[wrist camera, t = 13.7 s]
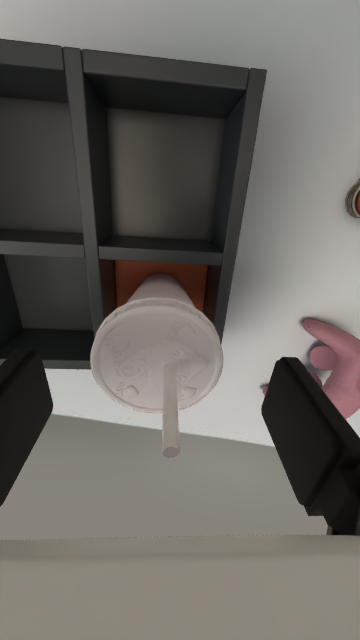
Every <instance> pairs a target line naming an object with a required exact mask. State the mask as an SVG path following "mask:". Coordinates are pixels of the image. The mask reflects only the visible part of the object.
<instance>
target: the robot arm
mask: <svg viewBox="0 0 360 640" xmlns="http://www.w3.org/2000/svg"><path fill="white" fill-rule="evenodd" d="M52 410H53V401H52V397H51V393H50V389H49V385H48V381H47V377H46V373H45V369H44V365H43V361H42V357H41V355H40V354H39V353H37V352H36V351H35V350H33V349H16V350H15V351H14V352H13V353H12V354H11V355H10V356H9V357H8V358H7V359H6V360H5V361H4V362H3V363H2V364H1V365H0V506H1V505H2V504H3V502H4V501H5V499H6V497H7V495H8V493H9V491H10V489H11V488H12V486H13V484H14V482H15V480H16V478H17V476H18V475H19V473H20V471H21V469H22V467H23V465H24V463H25V461H26V460H27V458H28V456H29V454H30V452H31V450H32V448H33V446H34V445H35V443H36V441H37V439H38V437H39V435H40V433H41V431H42V430H43V428H44V426H45V424H46V422H47V420H48V418H49V417H50V415H51V413H52ZM262 416H263V418H264V421H265V423H266V426H267V428H268V430H269V433H270V435H271V438H272V440H273V443H274V445H275V447H276V450H277V452H278V455H279V457H280V459H281V461H282V464H283V466H284V469H285V471H286V474H287V476H288V479H289V481H290V483H291V486H292V488H293V491H294V493H295V495H296V498H297V500H298V502H299V503H300V504H301V505H304V507H305V510H306V512H307V514H308V516H324V518H325V520H326V522H327V524H328V529H327V534H326V535H256V536H255V535H246V536H183V537H133V538H132V537H130V538H129V537H128V538H83V539H41V540H5V541H4V540H1V541H0V640H360V438H359V436H358V435H357V434H356V433H355V431H354V430H353V429H352V427H351V426H350V425H349V423H348V422H347V421H346V420H345V418H344V417H343V416H342V414H341V413H340V412H339V411H338V409H337V408H336V407H335V405H334V404H333V403H332V401H331V400H330V399H329V398H328V396H327V395H326V394H325V392H324V391H323V390H322V389H321V387H320V386H319V385H318V383H317V382H316V381H315V380H314V378H313V377H312V376H311V374H310V373H309V372H308V370H307V369H306V368H305V367H304V365H303V364H302V363H301V361H300V360H299V359H298V358H296V357H282V358H281V359H280V361H279V360H278V361H276V363H275V366H274V370H273V373H272V376H271V379H270V382H269V385H268V389H267V392H266V395H265V398H264V401H263V404H262Z"/></svg>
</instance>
